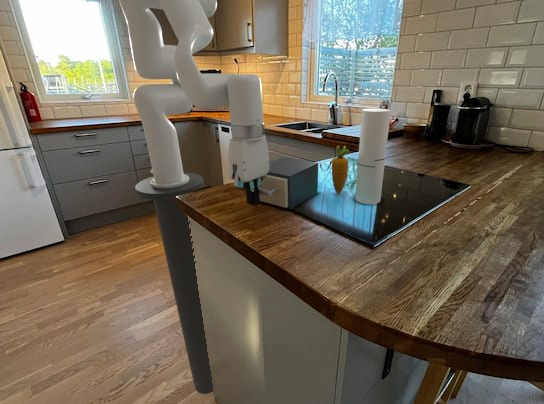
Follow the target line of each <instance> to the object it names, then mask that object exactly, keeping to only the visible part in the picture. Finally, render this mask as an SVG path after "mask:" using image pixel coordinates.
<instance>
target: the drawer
mask: <svg viewBox="0 0 544 404" xmlns="http://www.w3.org/2000/svg"><path fill="white" fill-rule="evenodd" d="M259 195H260V202H261V201H263V202H262V203H264V202H267V203H266V204H268V203H270V204H269V205H271V204H274V205H273V206H275V205H277V206H276V207H278V206H281V207H280V208H282V207H284V208H283V209H286V207H288V179H287V178H286V179H284V178H280V177H277V176H273V175H269V174H268V176H267V177H266V178H265V179H263V180H262V182H261V188H260V189H259Z"/></svg>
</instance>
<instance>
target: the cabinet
mask: <svg viewBox="0 0 544 404" xmlns="http://www.w3.org/2000/svg"><path fill="white" fill-rule="evenodd" d="M267 174H269V175H273V176H278V177H282V178H287V179H288V207H286V208H284V207H281V206H277V205H274V204H270V203H267V202H263V201H260V203H264V204H267V205H271V206H276V207H279V208H283V209H285V210H289V211H291V210H292V209H294V208H296V207H297V206H299V205H300V204H302V203H304V202H305V201H308V200H310V198H312V197H314V196H315V195H318V193H319V192H318V191H319V186H318V185H319V162H315V161H309V160H304V159H297V158H292V157H286V156H283V157H280V158H278V159H275V160H272V161H269V172H268V173H267Z"/></svg>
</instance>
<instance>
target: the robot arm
mask: <svg viewBox="0 0 544 404" xmlns="http://www.w3.org/2000/svg"><path fill="white" fill-rule="evenodd" d="M118 3H119V6H120V8H121V10H122V13H123V15H124V18H125V21H126V25H127V29H128V35H129V36H128V37H129V44H130V49H131V55H132V61H133V66H134V70H135V72H136V74H137V75H138V76H139V77H140V78H142V79H145V80H170V82H171V83H148V84H142V85H140V86H137V87H136V88H135V90H134V91H133V103H134V106H135V108H136V110H137V114H138V116H139V119H140V121H141V124H142V129H143V132H144V137H145V143H146V146H147V152H148V157H149V160H150V166H151V170H150V174H152V175H153V176H154V178H153V179H152V180H151V181H150V185H151V186H152V187H154V188H173V187H178V186H181V185H184V184H186V183H187V182H189V176H187V175H185V174H184V173H185V172H184V168H183V167H184V166H183V162H182V156H181V150H180V144H179V137H178V133H177V129H176V127H175V125H174V124H173V123H172V122H171V121H170V120H169V118H168V117H169V116H174V115H176V116H177V115H183V114H188V113H189V112H191V111H192V109H193V106H194V107H195V108H197V109H200V110H212V109H221V108H228V109H229V120H230V129H231V138H230V139H229V142H228V153H227V156H228V157H227V159H228V160H227V162H228V176H229V179H230V180H233V186H234V187H235V188H238V189H241V188H242V189H243V190H244V191H245V196H246V204H249V205H251V206H254V207H256V206H258V205H260V204H261V201H260V195H259V189H260V188H261V182H262V180H263V179H265V178H266V177H267V176H268V174H267V173H268V172H269V162H270V155H269V147H268V142H267V138H266V135H265V127H266V126H265V123H264V105H263V104H264V103H263V89H262V80H261V77H260V76H259V75H257V74H255V73H253V74H252V73H238V74H236V73H201V71H200V69H199V68H198V66H197V63H196V61H195V59H194V57H193V56H194V54H195V53H197V52H200V51H202V50H203V49H205V48H206V47H207V46H208V45H209V44H210V43H211V42H212V40H213V38H214V28H213V27H212V26H213V25H212V24H211V23H210V21H209V18H212V17H213V16H214V15H215V12H216V11H217V8H218V7H217V6H218V0H118ZM151 9H157V10H161V11H162V10H163V12H164V15H165V16H166V18H167V20H168V22H169V24H170V26H171V29H172V31H173V32H174V34H175V37H176V38H177V41H178V43H177V45H172V44H164V38H163V29H162V26H161V24H160V22H159V20H158V19H157V17H156V15H155V14H154V12H153V11H152V10H151ZM183 172H184V173H183ZM153 176H152V177H153Z"/></svg>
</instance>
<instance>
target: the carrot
mask: <svg viewBox="0 0 544 404" xmlns="http://www.w3.org/2000/svg"><path fill="white" fill-rule="evenodd" d="M335 149H336V154H337V156H336V157H333V158H332V159H331V178H332V184H333V185H332V186H333V188H334V191H335V193H336V194H337V195H340V194H341V193H342V191H343V190H344V187H345V186H346V182H347V177H348V170H349V159H348V158H347V157H345V155H346V154H347V153H348V152H349V151H350V150H349V149H347V146H346V145H343V147H342V150H341V147H340V145H337V146H336V148H335Z"/></svg>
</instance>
